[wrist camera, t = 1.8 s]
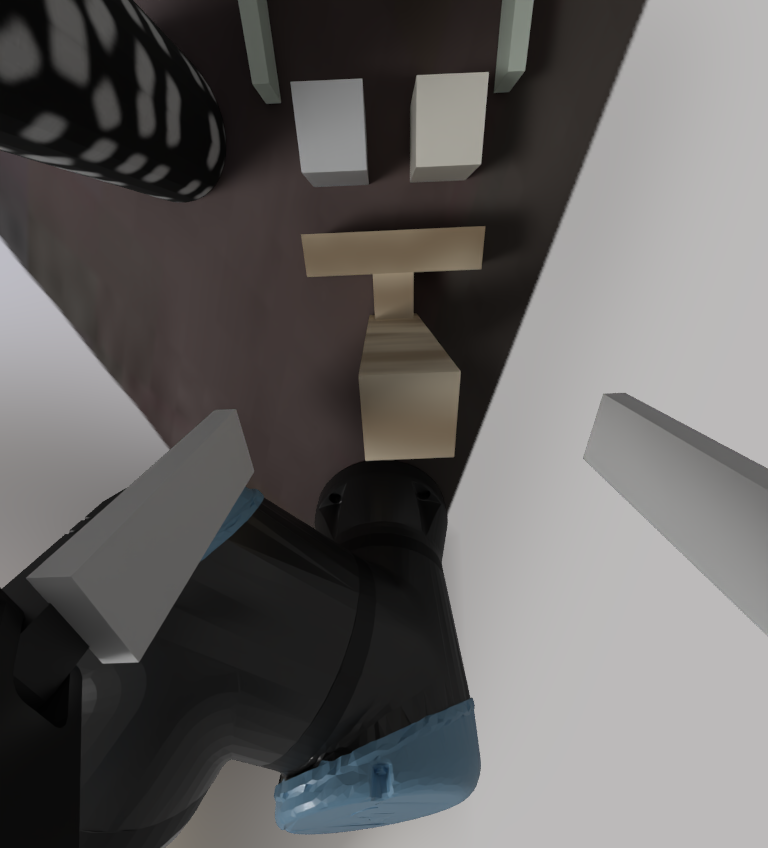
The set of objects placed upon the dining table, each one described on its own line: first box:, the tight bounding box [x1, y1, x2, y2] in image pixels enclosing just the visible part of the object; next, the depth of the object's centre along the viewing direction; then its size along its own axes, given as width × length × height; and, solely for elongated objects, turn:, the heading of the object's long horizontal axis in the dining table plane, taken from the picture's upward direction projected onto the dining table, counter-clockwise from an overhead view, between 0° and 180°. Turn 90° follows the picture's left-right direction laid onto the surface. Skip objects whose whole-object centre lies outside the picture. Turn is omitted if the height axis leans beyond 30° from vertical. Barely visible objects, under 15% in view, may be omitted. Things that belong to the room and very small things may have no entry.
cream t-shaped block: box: [301, 226, 485, 461], centre depth 19 cm, size 10×12×16 cm
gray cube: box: [290, 79, 369, 187], centre depth 20 cm, size 4×4×4 cm
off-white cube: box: [410, 72, 489, 183], centre depth 20 cm, size 4×4×4 cm
